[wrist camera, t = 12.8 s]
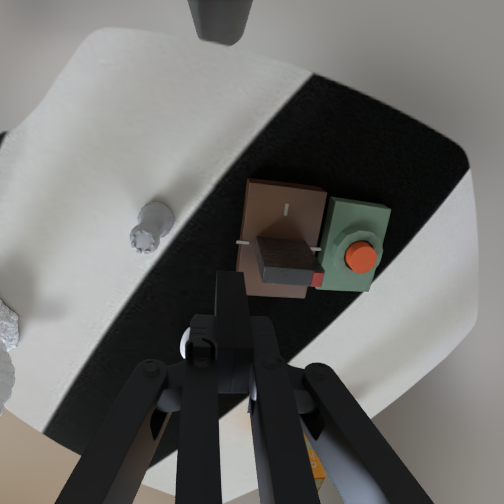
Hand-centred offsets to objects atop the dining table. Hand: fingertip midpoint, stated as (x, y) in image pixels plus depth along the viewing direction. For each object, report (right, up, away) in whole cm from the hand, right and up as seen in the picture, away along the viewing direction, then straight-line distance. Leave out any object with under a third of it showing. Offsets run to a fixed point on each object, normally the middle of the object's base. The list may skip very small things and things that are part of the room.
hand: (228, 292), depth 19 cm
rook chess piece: (-10, +7, +20) cm, 24 cm away
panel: (+4, +4, +22) cm, 23 cm away
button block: (+14, +3, +24) cm, 28 cm away
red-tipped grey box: (+5, +3, +20) cm, 20 cm away
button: (+15, +2, +20) cm, 25 cm away
